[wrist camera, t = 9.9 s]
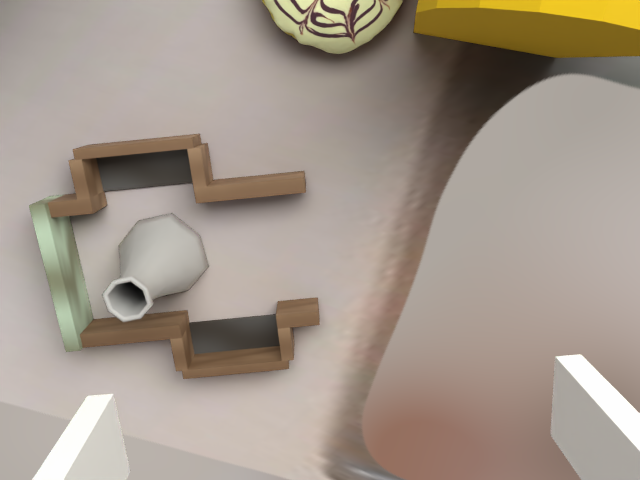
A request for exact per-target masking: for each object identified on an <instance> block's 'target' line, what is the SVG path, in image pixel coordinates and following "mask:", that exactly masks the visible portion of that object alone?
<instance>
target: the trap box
mask: <svg viewBox="0 0 640 480" xmlns="http://www.w3.org/2000/svg"><path fill="white" fill-rule="evenodd" d="M73 153H74V158H75V159H72V160H69V166H70V170H71V174H72V179H73V183H74V188H75V192H76V194H67V195H57V196H49V197H47V198H45V199H42V200H40V201H38V202H36V203H33V204H31V205H29V208H30V212H31V216H32V220H33V224H34V228H35V232H36V236H37V240H38V244H39V247H40V251H41V255H42V259H43V263H44V267H45V271H46V275H47V279H48V283H49V287H50V291H51V295H52V299H53V303H54V307H55V311H56V315H57V318H58V322H59V326H60V330H61V334H62V338H63V342H64V346H65V350H66V352H71V351H80V350H81V349H82V348H85V347H95V346H105V345H116V344H126V343H136V342H147V341H157V340H167V339H170V342H171V347H172V353H173V358H174V363H175V368H176V371H182V374H183V379H189V378H199V377H210V376H220V375H231V374H241V373H251V372H262V371H272V370H282V369H289V360H294V336H293V328H292V327H301V326H312V325H320V324H319V306H318V298H308V299H297V300H287V301H278V304H277V311H276V314H274V315H264V316H253V317H243V318H233V319H222V320H212V321H202V322H192V323H189V317H188V312H187V310H184V311H174V312H164V313H154V314H145V315H144V316H143V317H142V318H141V319H137V320H132V321H128V322H122V321H121V320H119V319H118V318H117V317H113V318H102V319H93V315H92V311H91V307H90V302H89V298H88V294H87V289H86V285H85V281H84V277H83V272H82V268H81V264H80V259H79V255H78V251H77V247H76V242H75V238H74V234H73V229H72V225H71V221H70V217H69V216H73V215H83V214H93V213H95V212H97V211H98V210H100V209H102V208H103V207H105V206H106V205H107V201H106V197H105V192H104V191H111V190H121V189H131V188H141V187H151V186H161V185H171V184H181V183H192V182H193V187H194V193H195V199H196V203H204V202H215V201H225V200H235V199H245V198H255V197H265V196H275V195H285V194H295V193H306V183H305V173H304V171H298V172H288V173H278V174H268V175H258V176H248V177H238V178H228V179H218V180H213V175H212V169H211V162H210V156H209V149H208V143H204V144H201V138H200V134H192V135H182V136H172V137H162V138H152V139H142V140H132V141H122V142H112V143H102V144H92V145H86V146H83V147H79V148H76V149H73Z"/></svg>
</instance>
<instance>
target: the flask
mask: <svg viewBox="0 0 640 480" xmlns="http://www.w3.org/2000/svg"><path fill="white" fill-rule="evenodd" d="M119 255H120V277H119V279H115V280H113V281H112V283H111V284H110V285H109V286H108V288H107V289H106V290H105V291H104V293H103V294H102V296H103V299H104V302H105V304H106V307H107V310H108V312H110V313H111V314H112V315H114V316H115V317H117V318H118V319H119V320H121V321H122V322H128V321H132V320H137V319H141V318H142V317H143V316H144V315H145V313H146V312H147V311H148V310H149V309H150V308H151V306H152V305H153V301H152V300H154V299H155V298H157V297H161V296H165V295H169V294H174V293H178V292H183V291H187V290H189V289H190V288H191V287H192V285H193V284H194V283H195V282H196V281H197V280H198V278H199V277H200V276H201V275H202V274H203V272H204V271H205V270H206V269H207V268H208V267H209V265H208V262H207V258H206V255H205V252H204V248H203V245H202V241H201V238H200V235H199V234H198V233H197V232H195V231H194V230H193V229H192V228H190V227H189V226H188V225H186V224H185V223H184V222H183V221H181V220H180V219H179V218H177V217H176V216H175V215H174V214H172V213H170V214H166V215H161V216H157V217H152V218H148V219H143V220H139V221H138V222H137V223H136V224H135V226H134V227H133V228H132V229H131V231H130V232H129V233H128V235H127V236H126V237H125V238H124V240H123V241H122V242H121V243H120V245H119Z"/></svg>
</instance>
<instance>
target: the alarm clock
mask: <svg viewBox="0 0 640 480" xmlns="http://www.w3.org/2000/svg"><path fill="white" fill-rule="evenodd" d="M413 33H419V34H425V35H430V36H436V37H442V38H447V39H453V40H459V41H464V42H470V43H476V44H481V45H487V46H493V47H498V48H504V49H510V50H515V51H521V52H527V53H532V54H538V55H544V56H549V57H555V58H564V57H616V56H640V0H418V4H417V10H416V16H415V24H414V32H413Z"/></svg>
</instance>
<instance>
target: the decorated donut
mask: <svg viewBox="0 0 640 480" xmlns="http://www.w3.org/2000/svg"><path fill="white" fill-rule="evenodd" d="M262 2H263V3H264V5H265V6H266V7H267V9H268V10H269V12H270V14H271V17H272V19H273V20H274V22H275V23H276V25H277V26H278V27H279V28H280V29H281V30H282V31H284V32H285V33H286V34H288V35H291V36H292V37H293V38H295V39H297V40H298V42H299V43H300V44H304V45H310V46H314V47H316V48H319V49H322V50H324V51H326V52H328V53H334V54H342V53H347V52H350V51H352V50H354V49H356V48H358V47H359V46H361V45H363V44H365V43H367V42H369V41H370V40H371V39H373V37H374V36H375V35H377V34H378V33H379V32H380V31H382V30H383V29H384V28H385V27H386V26H387V24H389V23H390V21H391V20H392V18H393V16H394V15H395V14H396V12H397V11H398V9H399V8H400V6H401V4H402V2H403V0H262Z"/></svg>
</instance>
